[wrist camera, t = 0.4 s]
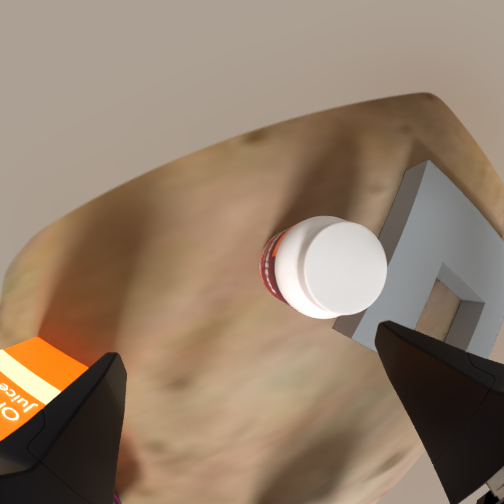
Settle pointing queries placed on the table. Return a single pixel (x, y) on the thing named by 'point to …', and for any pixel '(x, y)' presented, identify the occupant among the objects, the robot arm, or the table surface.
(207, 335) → the table surface
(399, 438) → the table surface
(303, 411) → the table surface
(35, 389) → the orange juice
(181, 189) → the table surface
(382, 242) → the notched board
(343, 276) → the pill bottle
